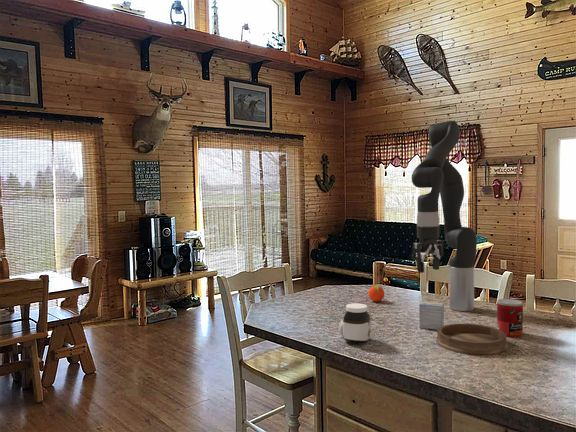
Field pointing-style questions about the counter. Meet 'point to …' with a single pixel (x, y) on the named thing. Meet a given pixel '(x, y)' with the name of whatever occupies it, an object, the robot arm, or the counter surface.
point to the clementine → (376, 293)
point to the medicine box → (431, 315)
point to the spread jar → (356, 324)
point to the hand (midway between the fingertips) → (428, 270)
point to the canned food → (510, 317)
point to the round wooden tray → (472, 339)
